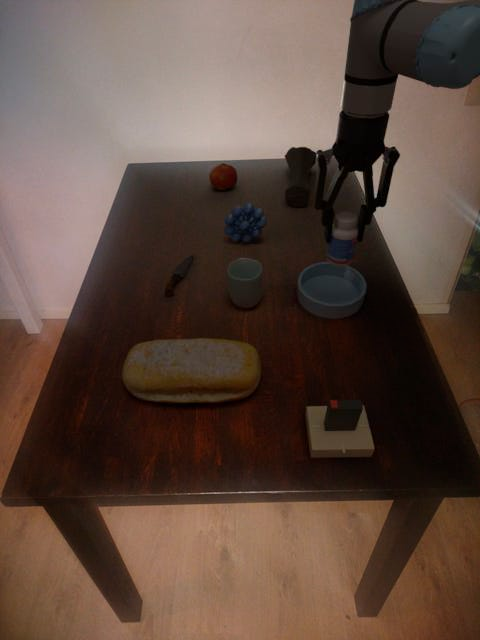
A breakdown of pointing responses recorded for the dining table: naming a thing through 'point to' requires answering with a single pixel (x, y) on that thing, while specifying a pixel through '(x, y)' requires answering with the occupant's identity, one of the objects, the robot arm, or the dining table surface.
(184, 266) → the knife
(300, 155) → the scalloped vase
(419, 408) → the dining table surface
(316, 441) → the tan flat block
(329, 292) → the shallow blue dish
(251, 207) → the grapes
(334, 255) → the pill bottle
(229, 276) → the cup
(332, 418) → the black block red label
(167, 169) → the dining table surface
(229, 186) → the tomato
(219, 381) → the bread
